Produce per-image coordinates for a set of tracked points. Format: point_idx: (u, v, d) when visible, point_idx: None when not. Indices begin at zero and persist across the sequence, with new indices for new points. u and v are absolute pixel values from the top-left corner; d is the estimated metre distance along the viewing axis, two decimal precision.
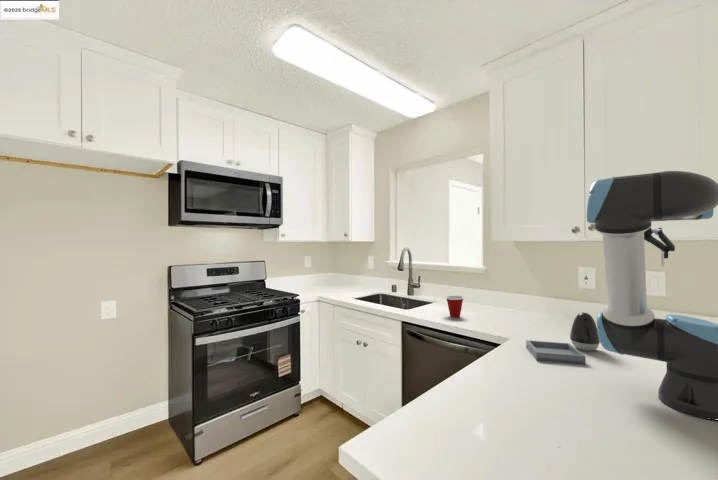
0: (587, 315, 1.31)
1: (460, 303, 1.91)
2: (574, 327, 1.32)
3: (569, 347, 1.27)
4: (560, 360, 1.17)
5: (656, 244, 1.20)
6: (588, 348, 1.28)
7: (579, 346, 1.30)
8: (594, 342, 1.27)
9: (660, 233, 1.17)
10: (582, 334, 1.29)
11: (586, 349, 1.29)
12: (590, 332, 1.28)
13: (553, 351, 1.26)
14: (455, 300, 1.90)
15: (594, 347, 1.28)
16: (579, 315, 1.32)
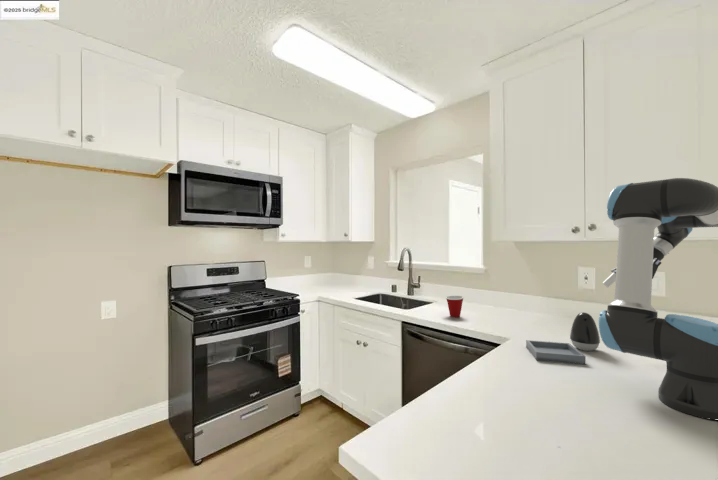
0: (587, 315, 1.31)
1: (460, 303, 1.91)
2: (574, 327, 1.32)
3: (569, 347, 1.27)
4: (560, 360, 1.17)
5: None
6: (588, 348, 1.28)
7: (579, 346, 1.30)
8: (594, 342, 1.27)
9: (654, 259, 1.25)
10: (582, 334, 1.29)
11: (586, 349, 1.29)
12: (590, 332, 1.28)
13: (553, 351, 1.26)
14: (455, 300, 1.90)
15: (594, 347, 1.28)
16: (579, 315, 1.32)
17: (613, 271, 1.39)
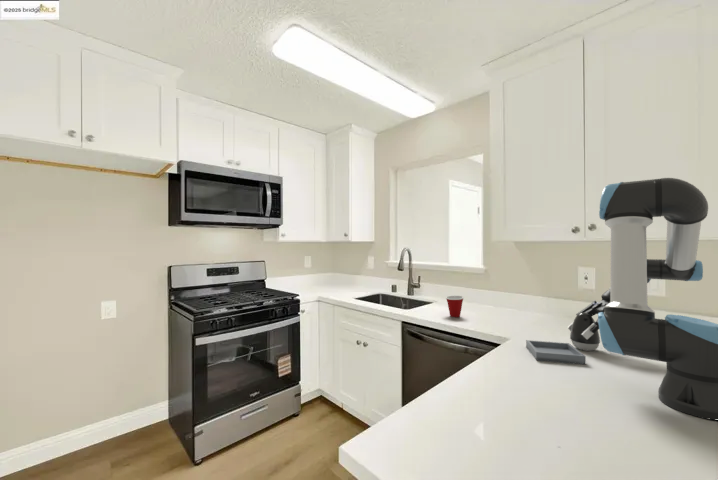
0: (587, 315, 1.31)
1: (460, 303, 1.91)
2: (574, 327, 1.32)
3: (569, 347, 1.27)
4: (560, 360, 1.17)
5: None
6: (588, 348, 1.28)
7: (579, 346, 1.30)
8: (594, 342, 1.27)
9: None
10: None
11: (586, 349, 1.29)
12: None
13: (553, 351, 1.26)
14: (455, 300, 1.90)
15: (594, 347, 1.28)
16: (579, 315, 1.32)
17: None
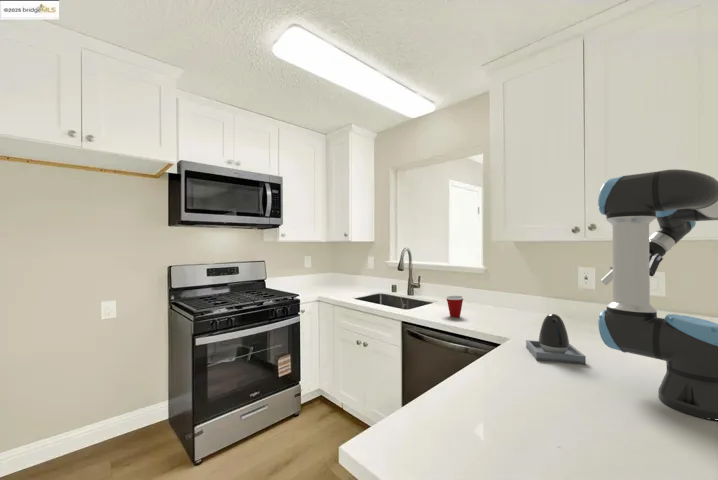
0: (556, 317, 1.23)
1: (460, 303, 1.91)
2: (543, 330, 1.24)
3: (569, 347, 1.27)
4: (560, 360, 1.17)
5: None
6: (556, 352, 1.20)
7: (547, 350, 1.22)
8: (562, 345, 1.19)
9: (655, 255, 1.18)
10: (550, 336, 1.21)
11: None
12: (558, 335, 1.20)
13: None
14: (455, 300, 1.90)
15: (562, 351, 1.20)
16: (548, 317, 1.24)
17: (612, 268, 1.32)
